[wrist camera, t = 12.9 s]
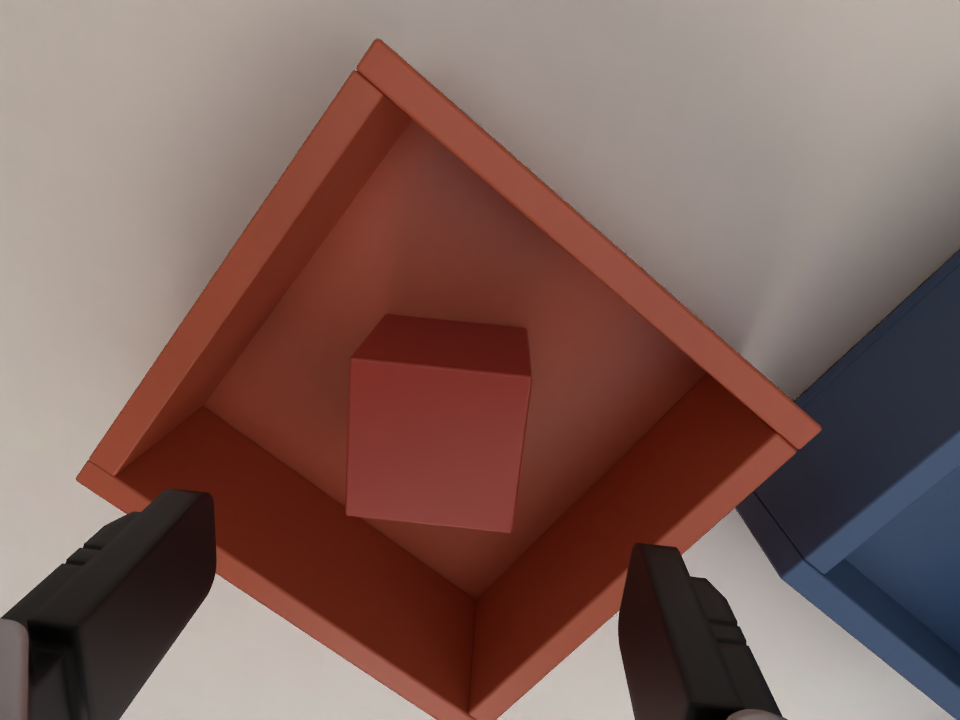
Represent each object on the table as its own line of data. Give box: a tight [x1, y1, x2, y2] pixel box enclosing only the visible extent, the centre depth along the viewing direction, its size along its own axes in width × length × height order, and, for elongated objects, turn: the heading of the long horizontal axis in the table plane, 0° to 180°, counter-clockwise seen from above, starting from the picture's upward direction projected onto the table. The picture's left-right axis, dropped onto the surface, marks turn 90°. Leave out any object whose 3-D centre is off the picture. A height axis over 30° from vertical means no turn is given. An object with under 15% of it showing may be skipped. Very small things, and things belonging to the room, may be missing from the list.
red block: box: [345, 314, 532, 533], centre depth 18 cm, size 5×5×5 cm
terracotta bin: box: [76, 38, 822, 720], centre depth 18 cm, size 14×14×6 cm
